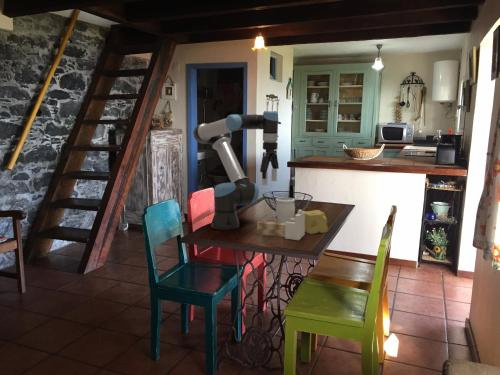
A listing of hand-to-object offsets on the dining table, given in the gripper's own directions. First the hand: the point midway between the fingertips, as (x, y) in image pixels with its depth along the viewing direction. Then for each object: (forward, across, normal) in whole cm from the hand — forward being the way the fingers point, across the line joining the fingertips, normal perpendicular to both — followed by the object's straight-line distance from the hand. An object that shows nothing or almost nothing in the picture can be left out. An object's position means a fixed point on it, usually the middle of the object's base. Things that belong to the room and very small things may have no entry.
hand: (269, 182), depth 217 cm
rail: (+25, -8, -8) cm, 27 cm away
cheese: (+25, +7, -22) cm, 34 cm away
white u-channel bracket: (+25, -7, -18) cm, 31 cm away
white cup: (+25, +11, -5) cm, 28 cm away
